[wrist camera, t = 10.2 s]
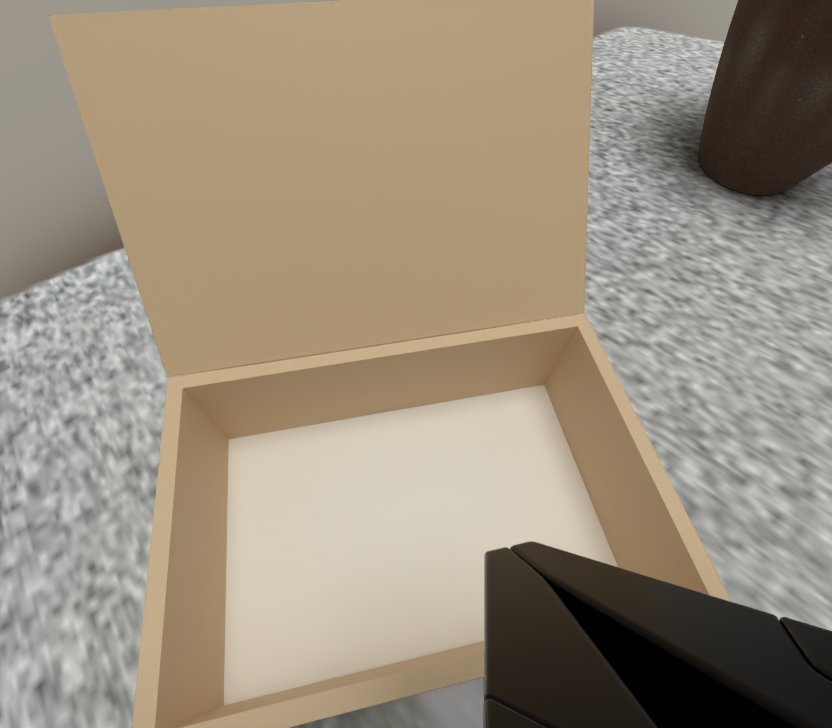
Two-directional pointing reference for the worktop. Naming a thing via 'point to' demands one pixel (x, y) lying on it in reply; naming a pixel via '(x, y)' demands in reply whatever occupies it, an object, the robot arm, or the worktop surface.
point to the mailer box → (383, 517)
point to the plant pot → (771, 97)
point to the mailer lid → (340, 168)
